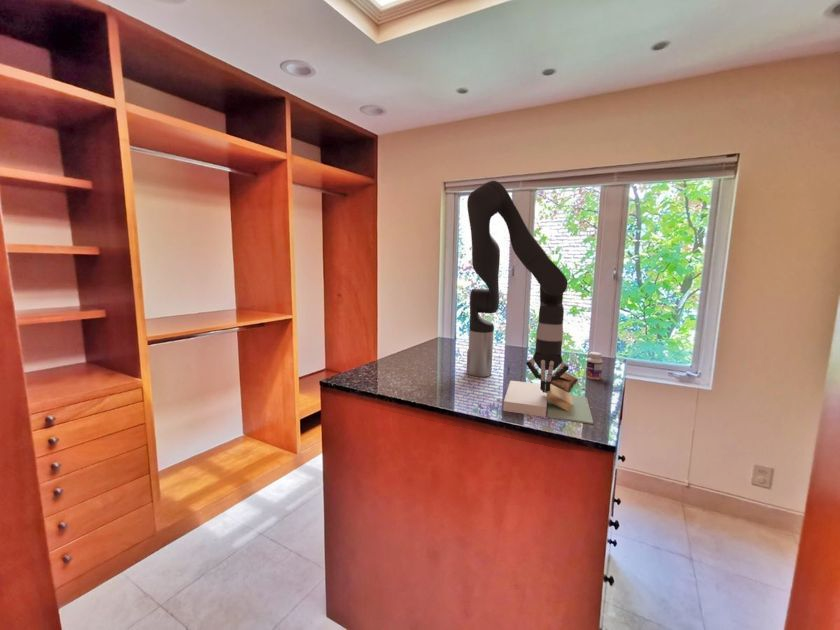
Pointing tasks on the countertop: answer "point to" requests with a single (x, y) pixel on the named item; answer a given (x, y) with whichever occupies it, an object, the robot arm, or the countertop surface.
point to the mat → (572, 411)
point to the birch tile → (560, 397)
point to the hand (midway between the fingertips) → (545, 391)
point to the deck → (525, 399)
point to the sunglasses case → (564, 382)
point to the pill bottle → (594, 366)
